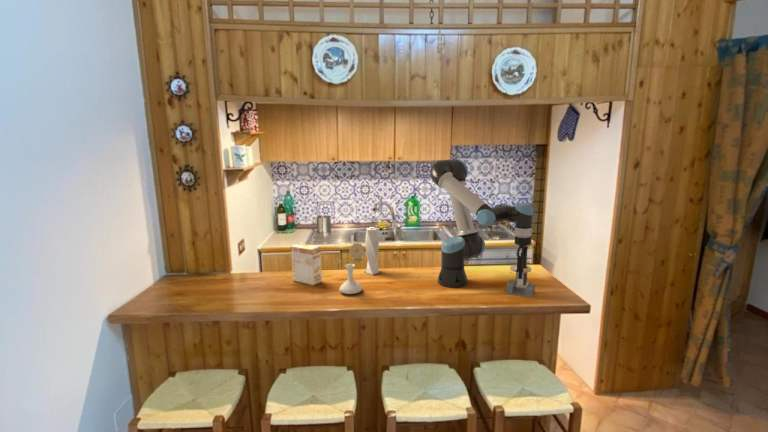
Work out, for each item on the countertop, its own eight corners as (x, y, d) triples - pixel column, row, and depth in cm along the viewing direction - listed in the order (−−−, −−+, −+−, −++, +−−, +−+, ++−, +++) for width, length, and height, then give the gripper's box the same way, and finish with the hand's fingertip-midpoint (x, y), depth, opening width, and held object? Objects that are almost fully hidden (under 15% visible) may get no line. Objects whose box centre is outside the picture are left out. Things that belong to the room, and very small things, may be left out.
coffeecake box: (322, 281, 219) (320, 246, 215) (313, 285, 213) (311, 249, 210) (301, 276, 227) (299, 242, 223) (292, 280, 221) (290, 245, 217)
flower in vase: (339, 297, 198) (338, 246, 193) (338, 288, 209) (337, 240, 204) (366, 295, 200) (365, 245, 195) (364, 286, 211) (363, 239, 206)
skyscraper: (383, 272, 232) (382, 224, 226) (373, 276, 226) (372, 226, 220) (372, 269, 237) (371, 222, 232) (362, 273, 232) (361, 224, 226)
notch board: (505, 293, 199) (506, 285, 198) (509, 288, 206) (509, 280, 205) (531, 297, 193) (532, 289, 192) (534, 292, 200) (535, 284, 199)
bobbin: (507, 287, 207) (508, 269, 205) (511, 280, 216) (512, 263, 214) (528, 290, 202) (529, 271, 201) (531, 283, 211) (532, 266, 209)
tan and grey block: (516, 284, 197) (516, 270, 196) (518, 281, 201) (518, 268, 200) (525, 285, 195) (526, 271, 194) (527, 282, 199) (527, 269, 198)
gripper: (528, 240, 185) (525, 290, 189) (534, 232, 200) (532, 278, 204) (511, 239, 188) (509, 287, 193) (518, 231, 203) (516, 276, 208)
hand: (521, 283), depth 198 cm, fingers closed on tan and grey block, 4 cm apart
